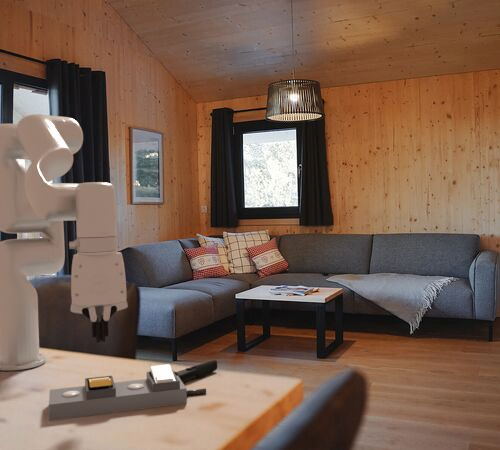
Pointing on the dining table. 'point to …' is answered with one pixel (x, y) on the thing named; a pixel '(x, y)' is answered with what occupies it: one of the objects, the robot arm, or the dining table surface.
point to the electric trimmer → (197, 371)
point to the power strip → (116, 397)
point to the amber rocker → (100, 382)
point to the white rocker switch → (162, 373)
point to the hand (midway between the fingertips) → (100, 340)
